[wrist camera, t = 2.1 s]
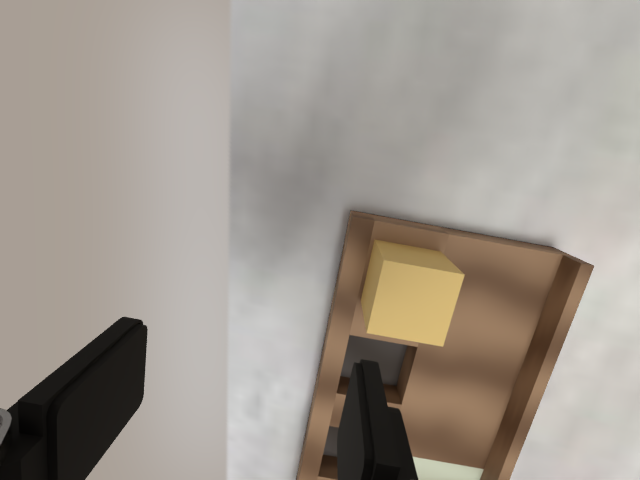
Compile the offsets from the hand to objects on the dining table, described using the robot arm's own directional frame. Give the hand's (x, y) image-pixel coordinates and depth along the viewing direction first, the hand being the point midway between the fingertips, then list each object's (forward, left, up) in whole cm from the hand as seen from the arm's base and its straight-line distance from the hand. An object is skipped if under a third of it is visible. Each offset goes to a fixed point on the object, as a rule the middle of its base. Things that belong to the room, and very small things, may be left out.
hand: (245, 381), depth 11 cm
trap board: (+9, +11, -16) cm, 21 cm away
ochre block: (0, +8, -13) cm, 15 cm away
